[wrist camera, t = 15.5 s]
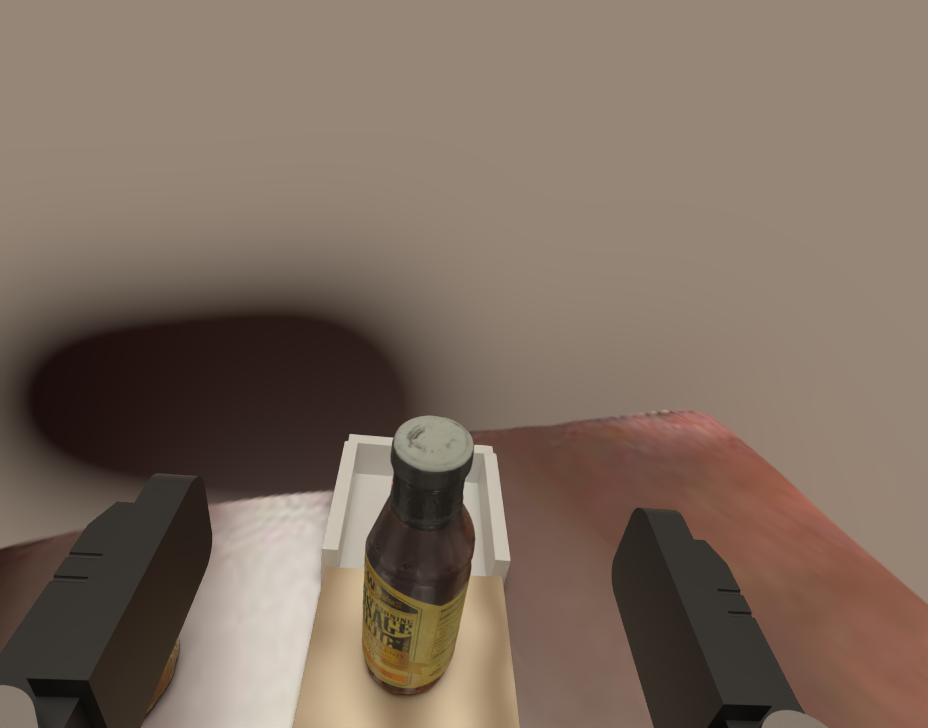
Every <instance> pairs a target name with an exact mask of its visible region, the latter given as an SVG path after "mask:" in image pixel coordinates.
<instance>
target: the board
mask: <svg viewBox="0 0 928 728" xmlns="http://www.w3.org/2000/svg"><path fill="white" fill-rule="evenodd" d="M363 585H364V569H357V568H340V567H325V571H324V576H323V581H322V586H321V591H320V596H319V601H318V605H317V610H316V615H315V620H314V625H313V630H312V635H311V640H310V645H309V650H308V654H307V659H306V664H305V669H304V674H303V679H302V684H301V689H300V694H299V699H298V703H297V708H296V713H295V718H294V723H293V728H520V726H519V717H518V709H517V700H516V691H515V683H514V674H513V666H512V657H511V648H510V640H509V631H508V623H507V614H506V605H505V597H504V588H503V580H502V577H489V576H472V575H470V580H469V584H468V589H467V593H466V598H465V603H464V607H463V612H462V617H461V622H460V627H459V631H458V636H457V640H456V645H455V650H454V654H453V657H452V660H451V662H450V664H449V666H448V668H447V669H446V671H445V672H444V674H443V676H442V677H441V678H440V680H439V681H438V682H437V683H436V684H435V685H434V686H433V687H431V688H430V689H427V690H425V691H423V692H418V693H412V694H405V695H403V694H396V693H393V692H391V691H390V690H388V689H386V688H384V687H383V686H381V684H379V683H378V682H377V681H376V680H375V679H374V678H373V677H372V676H371V675H370V674H369V671H368V668H367V665H366V662H365V657H364V654H363V649H362V623H363V589H364V587H363Z"/></svg>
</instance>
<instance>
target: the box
mask: <svg viewBox="0 0 928 728" xmlns="http://www.w3.org/2000/svg"><path fill="white" fill-rule="evenodd" d="M392 441H393V438H389V437H377V436H365V435H353V434H350V437H349V441H345V445H344V449H343V454H342V458H341V463H340V468H339V473H338V477H337V482H336V486H335V491H334V495H333V500H332V504H331V509H330V514H329V518H328V523H327V527H326V532H325V537H324V541H323V546H322V566H321V586H322V581H323V576H324V571H325V567H340V568H357V569H364V568H365V567H364V563H365V544H366V539H367V536H368V534H369V533H370V531H371V529H372V527H373V525H374V523H375V521H376V520H377V518H378V516H379V514H380V512H381V510H382V508H383V506H384V504H385V503H386V501H387V499H388V497H389V495H390V492H391V483H392V478H393V474H394V472H393V467H392V464H391V462H390V454H391V447H392ZM463 496H464V498H463V504H464V505H465V507H466V509H467V510H468V512H469V513H470V516H471V519H472V521H473V525H474V530H475V538H476V540H475V548H474V554H473V558H472V560H471V564H472V568H471V575H472V576H489V577H502V580H503V586H504V583H505V579H506V575H507V572H508V568H509V564H510V554H509V546H508V539H507V532H506V524H505V517H504V509H503V502H502V495H501V487H500V480H499V472H498V465H497V457H496V454H493V450H492V446H482V445H474V455H473V463H472V467H471V470H470V472H469V474H468V476H467V477H466V478H465V483H464V490H463Z"/></svg>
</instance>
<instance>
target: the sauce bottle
mask: <svg viewBox="0 0 928 728" xmlns="http://www.w3.org/2000/svg"><path fill="white" fill-rule="evenodd" d="M473 455H474V443H473V439H472V437H471V435H470V433H469V432H468V431H467V430H466V429H464V428H463V427H462V426H461V425H460V424H459V423H457V422H455V421H453V420H451V419H448V418H442V417H437V416H422V417H417V418H414V419H411V420H409V421H407V422H405V423H404V424H403V425H401V426H400V427H399V429H398V430H397V432H396V433H395V436H394V438H393V441H392V447H391V454H390V462H391V464H392V467H393V472H394V474H393V480H392V481H393V484H392V489H391V492H390V495H389V497H388V499H387V501H386V503H385V504H384V506H383V508H382V510H381V512H380V514H379V516H378V518H377V520H376V521H375V523H374V525H373V527H372V529H371V531H370V533H369V534H368V536H367V539H366V544H365V563H364V567H365V568H364V585H363V587H364V589H363V623H362V649H363V654H364V657H365V662H366V665H367V668H368V671H369V674H370V675H371V676H372V677H373V678H374V679H375V680H376V681H377V682H378V683H379V684H381V686H383V687H384V688H386V689H388V690H390V691H391V692H393V693H396V694H403V695H405V694H412V693H418V692H423V691H425V690H427V689H430V688H431V687H433V686H434V685H435V684H436V683H437V682H438V681H439V680H440V678H441V677H442V676H443V674H444V672H445V671H446V669H447V668H448V666H449V664H450V662H451V660H452V657H453V654H454V650H455V645H456V640H457V636H458V631H459V627H460V622H461V617H462V612H463V607H464V603H465V598H466V593H467V589H468V584H469V580H470V575H471V568H472V564H471V560H472V558H473V554H474V548H475V540H476V538H475V530H474V525H473V521H472V519H471V516H470V513H469V512H468V510H467V509H466V507H465V505H464V504H463V498H464V496H463V490H464V483H465V478H466V477H467V476H468V474H469V472H470V470H471V467H472V463H473Z"/></svg>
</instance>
